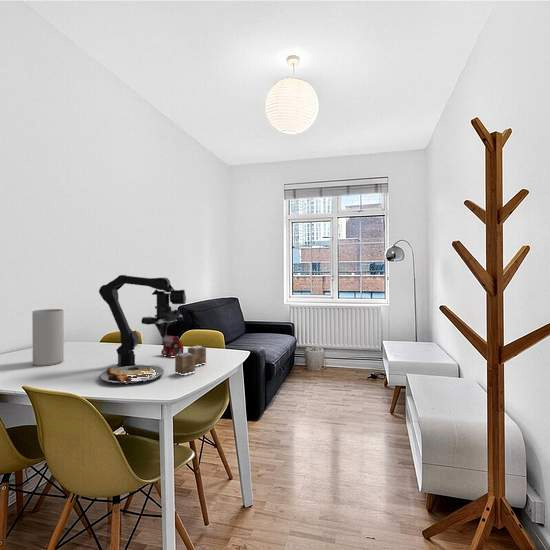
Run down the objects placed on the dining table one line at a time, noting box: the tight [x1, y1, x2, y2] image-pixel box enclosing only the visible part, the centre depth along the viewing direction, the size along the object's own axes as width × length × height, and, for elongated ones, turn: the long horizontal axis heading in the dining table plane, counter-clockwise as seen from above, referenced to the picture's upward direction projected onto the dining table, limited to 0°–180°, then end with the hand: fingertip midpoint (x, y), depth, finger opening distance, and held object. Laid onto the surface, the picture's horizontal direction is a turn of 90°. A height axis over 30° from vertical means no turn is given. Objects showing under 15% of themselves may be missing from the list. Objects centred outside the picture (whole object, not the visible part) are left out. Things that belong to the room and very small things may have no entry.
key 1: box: [190, 345, 204, 349], centre depth 170 cm, size 4×4×8 cm
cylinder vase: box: [31, 308, 65, 367], centre depth 171 cm, size 12×12×25 cm
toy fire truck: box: [160, 334, 184, 357], centre depth 187 cm, size 7×12×10 cm, turn 65°
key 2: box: [179, 352, 191, 357], centre depth 155 cm, size 4×4×8 cm
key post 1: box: [187, 346, 207, 365], centre depth 170 cm, size 6×6×8 cm
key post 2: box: [174, 354, 196, 374], centre depth 155 cm, size 6×6×8 cm
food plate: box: [98, 364, 165, 384], centre depth 149 cm, size 25×23×4 cm
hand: (162, 337), depth 169 cm, fingers closed
